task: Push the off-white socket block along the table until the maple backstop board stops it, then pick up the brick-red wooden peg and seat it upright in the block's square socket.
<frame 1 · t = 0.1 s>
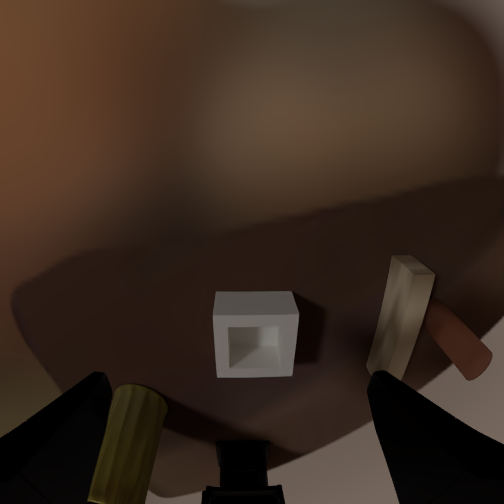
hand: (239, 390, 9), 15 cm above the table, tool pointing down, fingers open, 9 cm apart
olive ribbed cylinder: (141, 400, 28), on the table
backstop: (388, 316, 26), on the table
peg: (429, 311, 26), on the table
socket block: (254, 335, 23), point 2 cm above the table, slide at 0.0 cm
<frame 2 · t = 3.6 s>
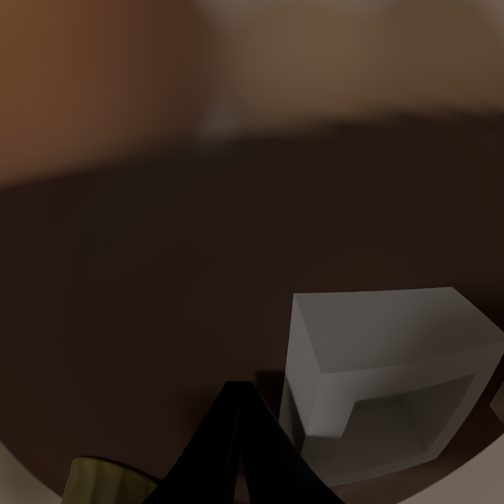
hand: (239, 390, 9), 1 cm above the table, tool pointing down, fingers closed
olive ribbed cylinder: (118, 477, 13), on the table
socket block: (381, 394, 8), point 2 cm above the table, slide at 0.4 cm, touching gripper
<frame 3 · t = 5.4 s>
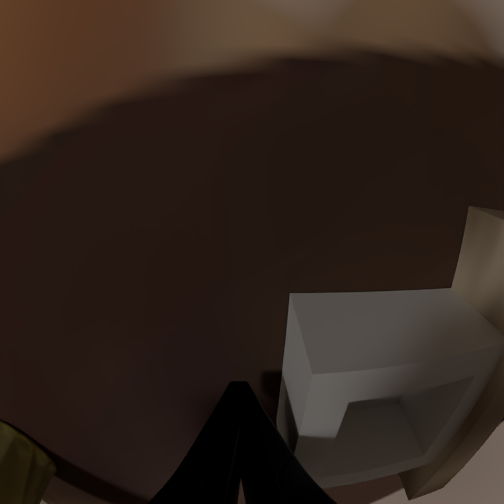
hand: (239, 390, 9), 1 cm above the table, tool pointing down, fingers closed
olive ribbed cylinder: (23, 444, 13), on the table
backstop: (446, 351, 10), on the table
socket block: (378, 396, 8), point 2 cm above the table, slide at 8.5 cm, touching backstop, gripper
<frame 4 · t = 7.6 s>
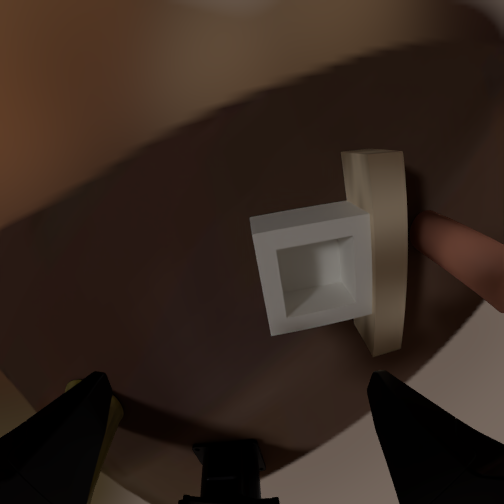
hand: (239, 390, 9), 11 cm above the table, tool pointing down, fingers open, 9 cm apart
olive ribbed cylinder: (95, 399, 23), on the table
backstop: (364, 243, 19), on the table
peg: (426, 231, 19), on the table
socket block: (312, 265, 17), point 2 cm above the table, slide at 8.5 cm
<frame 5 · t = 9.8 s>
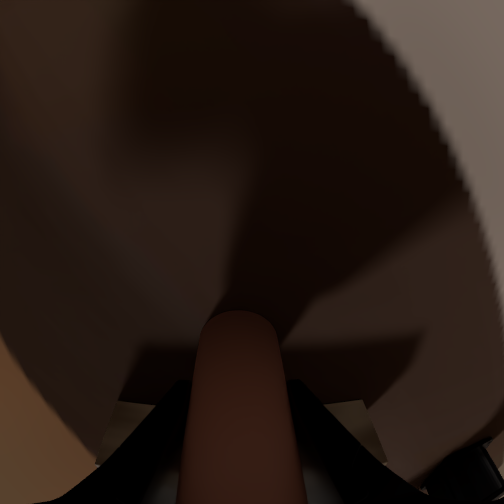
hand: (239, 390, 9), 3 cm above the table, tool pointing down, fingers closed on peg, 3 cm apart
backstop: (239, 421, 13), on the table
peg: (238, 343, 11), on the table, touching gripper
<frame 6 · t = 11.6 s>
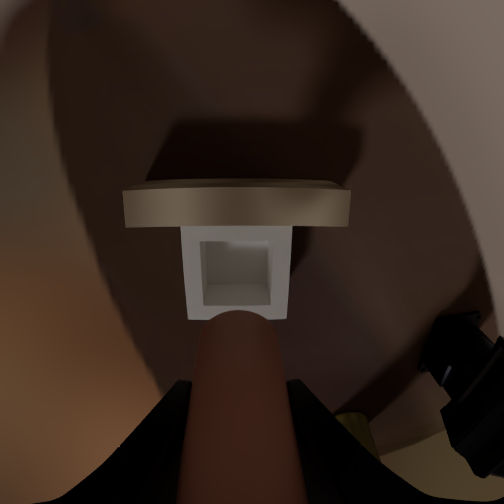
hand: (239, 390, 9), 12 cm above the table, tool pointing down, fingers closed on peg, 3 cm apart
olive ribbed cylinder: (340, 426, 28), on the table
backstop: (236, 193, 19), on the table
peg: (238, 343, 11), point 10 cm above the table, touching gripper
socket block: (236, 263, 19), point 2 cm above the table, slide at 8.5 cm
when the fingers open (5 cm above the table, at t = 13.5 s): peg drops 2 cm, resting on socket block.
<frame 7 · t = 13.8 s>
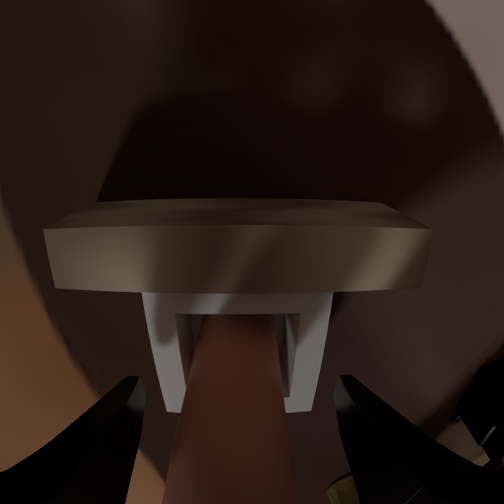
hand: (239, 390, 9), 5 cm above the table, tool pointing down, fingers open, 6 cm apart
olive ribbed cylinder: (357, 480, 21), on the table
backstop: (237, 223, 12), on the table
peg: (238, 320, 13), point 1 cm above the table, touching socket block
socket block: (237, 333, 12), point 2 cm above the table, slide at 8.5 cm, touching peg
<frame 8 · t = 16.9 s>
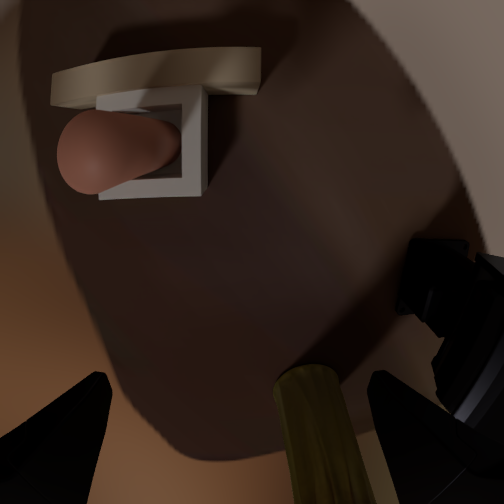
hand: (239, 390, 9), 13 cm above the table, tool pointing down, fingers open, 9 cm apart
olive ribbed cylinder: (305, 385, 26), on the table
backstop: (162, 83, 16), on the table
peg: (159, 143, 17), point 1 cm above the table, touching socket block
socket block: (154, 142, 16), point 2 cm above the table, slide at 8.5 cm, touching peg
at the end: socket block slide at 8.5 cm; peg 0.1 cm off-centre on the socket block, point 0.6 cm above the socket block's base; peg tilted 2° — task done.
